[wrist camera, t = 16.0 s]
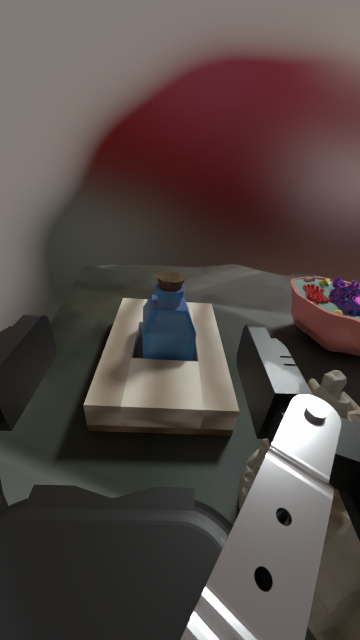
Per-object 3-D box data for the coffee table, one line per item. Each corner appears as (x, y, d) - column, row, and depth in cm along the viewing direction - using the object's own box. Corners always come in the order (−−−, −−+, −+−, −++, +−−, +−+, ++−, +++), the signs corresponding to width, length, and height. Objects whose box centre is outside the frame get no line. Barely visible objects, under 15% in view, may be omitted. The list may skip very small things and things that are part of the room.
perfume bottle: (190, 372, 33) (202, 289, 27) (142, 373, 32) (143, 287, 26) (183, 343, 38) (192, 267, 32) (142, 343, 37) (143, 265, 31)
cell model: (309, 305, 55) (330, 255, 49) (417, 360, 41) (464, 299, 35) (256, 323, 47) (273, 265, 41) (368, 399, 33) (419, 328, 27)
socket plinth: (208, 323, 45) (211, 303, 43) (231, 435, 27) (239, 411, 25) (124, 318, 45) (123, 298, 42) (87, 430, 26) (83, 404, 24)
